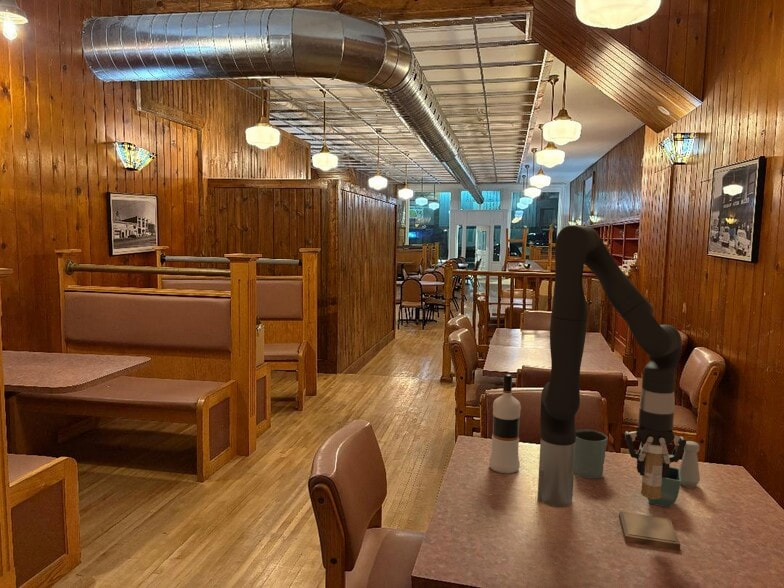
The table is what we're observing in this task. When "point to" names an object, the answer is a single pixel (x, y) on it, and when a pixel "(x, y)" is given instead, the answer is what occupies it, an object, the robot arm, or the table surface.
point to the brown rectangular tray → (648, 530)
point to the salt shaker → (690, 465)
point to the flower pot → (669, 489)
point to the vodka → (505, 431)
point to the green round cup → (589, 453)
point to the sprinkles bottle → (652, 472)
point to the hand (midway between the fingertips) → (652, 475)
